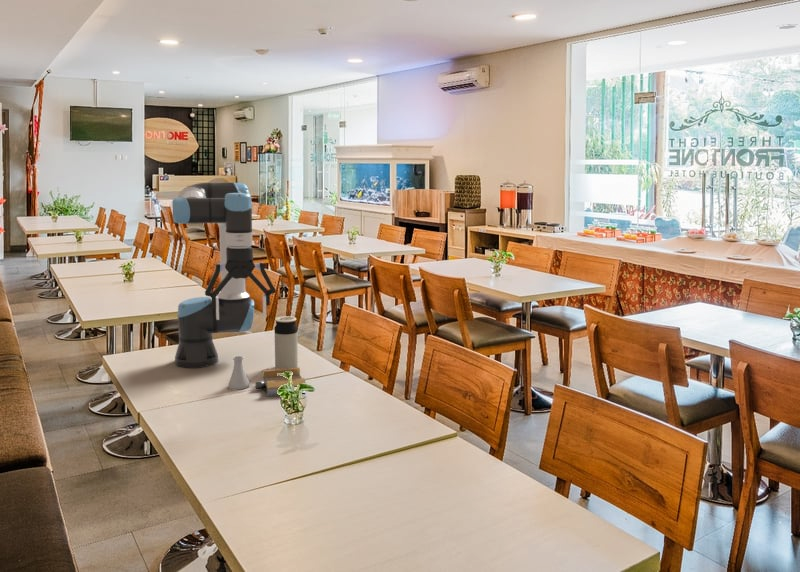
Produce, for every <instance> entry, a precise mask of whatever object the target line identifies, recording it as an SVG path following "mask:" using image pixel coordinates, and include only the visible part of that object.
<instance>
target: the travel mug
mask: <svg viewBox="0 0 800 572" xmlns="http://www.w3.org/2000/svg"><path fill="white" fill-rule="evenodd" d="M274 320H275V326H274V367H275V368H274V369H286V368H299V365H298V363H299V361H298V360H299V358H298V352H299V351H298V326H297V323H296V322H297V318H296V317H295V316H291V315H290V316H287V315H285V316H283V315H282V316H278V317H275V319H274Z"/></svg>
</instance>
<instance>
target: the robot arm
mask: <svg viewBox="0 0 800 572" xmlns="http://www.w3.org/2000/svg"><path fill="white" fill-rule="evenodd" d="M252 202H253V201H252V196H251V194H250V191H249V188H248V186H247V184H245V183H243V182H234V181H233V182H199V183H195V184H191V185H188V186H186V187H185V188H183V189H182V190H181V191H180V192H179V193H178V196H177V198H176V197H175V198H173V199H172V205H171V207H172V209H171V210H172V220H173V222H174V223H175V224H184V225H187V224H217V225H218V228H219V229H218V230H219V256H220V258H219V259H220V260H219V261H220V262H217V263H215V268H214V269H215V270H214V273H213V275H212V276H211V278H210V280H209V283H208V284H207V287H206V288H205V291H204V294H205V296H199V297H192V298H189V299H185V300H182V301H181V302H179V304H178V306H177V319H178V346H177V349H176V352H175V355H174V364H175V366H177V367H181V368H189V369H190V368H192V369H194V368H204V367H205V368H206V367H210V366H212V365H216V363H218V362H219V353H218V351H217V348H216V346H215V343H214V341H213V334H222V333H243V332H248V331H250V330H251V329H252V327H253V324H254V316H255V300H254V299H252V298H251V295H250V293H248V292H247V290H246V279H247V278H250V280H251V281H253V282H254V283H255V285H257V287H258V288H259V289H260V290H261V291H262V292H263V293H264V294H262V317H263V318H267V307H268V306H270V305H271V303H270V301H271V298H270V297H271V294H275V293H276V292H277V290H276V288H275V286H274V285H273V283H272V281H271V279H270V278H269V276H268V274H267V272H266V270H265V263H264V261H260V262H256V263H254V252H253V251H254V248H253V247H252V246H253V245H254V244H253V210H252V208H253V203H252ZM255 268H256V269H257V270H258V271H260V274H261V275H262V276H263V278H264V280H265V282H266V284H267V285H268V287H269V289H268V288H267V287H266V286H265V285H264V284H263V282H261V281H260V280H259V279H258V277H256V275H255V274H253V271H254V270H255ZM219 275H220V282H219V284H218V285H217V286H216V287H215V288H214V286H215V284H216V281H217V279H218V278H219ZM213 288H214V290H213ZM212 290H213V291H212Z"/></svg>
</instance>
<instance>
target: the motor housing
mask: <svg viewBox="0 0 800 572" xmlns="http://www.w3.org/2000/svg"><path fill="white" fill-rule="evenodd" d="M285 371H292V372H293V375H292V382H293V386H294V387H297V385H298V383H305V384H306V379H305V377H303V378H302V376H301V368H300V367H297V368H286V369H277V368H274V369H273V368H272V369H264V370H262V381H255V390H265V394H266V396H267V398H270V397H280V396H279V395H278V394H277V390H278V388H279V387H280V386H281V385H284V384H287V383H288V379H287V378H285V377H283V376H277V373H283V372H285Z"/></svg>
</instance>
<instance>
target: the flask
mask: <svg viewBox="0 0 800 572" xmlns="http://www.w3.org/2000/svg"><path fill="white" fill-rule="evenodd" d="M232 357H233V359H232V360H233V369H232V373H231V375H230V379H229V382H228V385H227V389H229V390H230V389H231V390H245V389H247V388H249V387H250V386H251V385H250V381H249V378H248V376H247V373H246V371H245V369H244V364H243V359H244V357H243V355H241V356H240V355H237V356H236V355H235V356H232Z"/></svg>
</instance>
